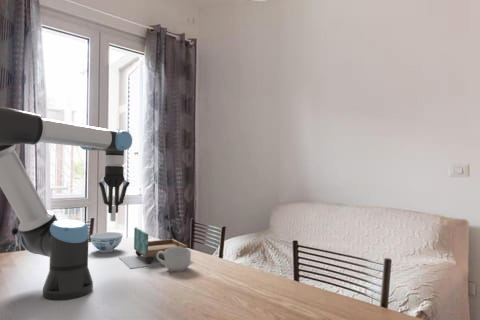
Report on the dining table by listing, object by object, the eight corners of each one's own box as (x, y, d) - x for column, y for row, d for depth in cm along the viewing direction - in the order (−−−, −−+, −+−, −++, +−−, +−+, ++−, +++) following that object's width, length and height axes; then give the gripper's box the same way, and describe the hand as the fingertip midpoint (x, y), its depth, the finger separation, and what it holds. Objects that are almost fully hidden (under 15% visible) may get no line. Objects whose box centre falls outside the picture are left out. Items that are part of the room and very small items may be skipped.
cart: (186, 258, 159) (187, 229, 159) (145, 264, 149) (146, 233, 149) (172, 250, 174) (172, 224, 174) (133, 255, 163) (134, 227, 163)
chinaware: (128, 250, 176) (129, 234, 176) (103, 256, 163) (103, 239, 163) (109, 245, 184) (109, 231, 184) (83, 251, 171) (83, 235, 171)
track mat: (188, 260, 159) (188, 259, 159) (130, 268, 145) (130, 268, 145) (172, 251, 175) (172, 250, 175) (119, 258, 161) (119, 257, 161)
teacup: (193, 266, 149) (193, 247, 149) (186, 274, 139) (187, 254, 139) (161, 265, 151) (161, 246, 151) (152, 272, 140) (153, 252, 140)
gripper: (127, 165, 157) (126, 218, 156) (96, 165, 150) (94, 220, 149) (132, 165, 151) (130, 221, 150) (100, 165, 144) (98, 223, 143)
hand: (112, 220), depth 150 cm, fingers closed
